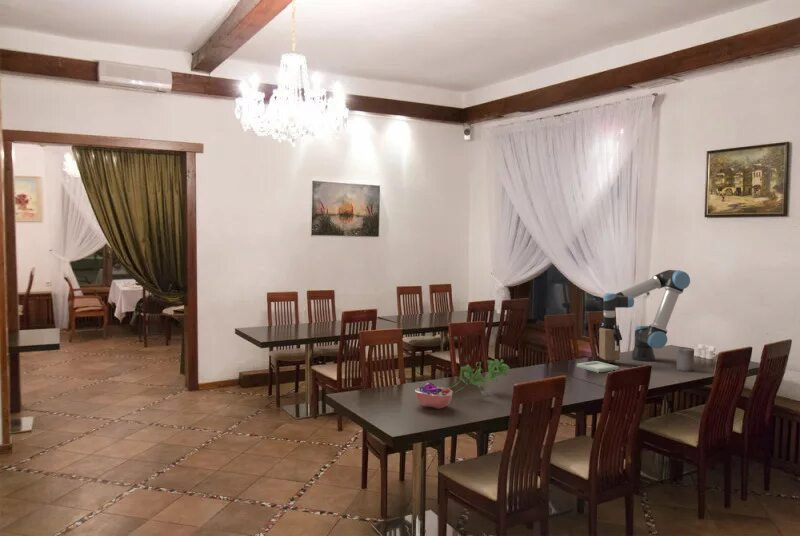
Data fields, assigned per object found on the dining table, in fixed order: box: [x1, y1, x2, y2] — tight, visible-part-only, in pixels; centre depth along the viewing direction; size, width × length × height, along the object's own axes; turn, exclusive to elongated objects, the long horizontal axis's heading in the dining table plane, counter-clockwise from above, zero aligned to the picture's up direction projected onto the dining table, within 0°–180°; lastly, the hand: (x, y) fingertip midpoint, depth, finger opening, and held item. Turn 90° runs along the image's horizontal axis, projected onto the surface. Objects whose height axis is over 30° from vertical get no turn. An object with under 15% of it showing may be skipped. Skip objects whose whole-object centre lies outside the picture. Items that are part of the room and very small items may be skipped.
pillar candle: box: [676, 346, 695, 372], centre depth 371 cm, size 10×10×15 cm
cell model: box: [414, 382, 454, 410], centre depth 283 cm, size 17×20×11 cm
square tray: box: [576, 360, 620, 374], centre depth 373 cm, size 18×18×2 cm
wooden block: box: [598, 327, 621, 361], centre depth 388 cm, size 10×10×20 cm
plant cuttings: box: [447, 358, 511, 397], centre depth 308 cm, size 35×17×22 cm
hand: (608, 348), depth 388 cm, fingers closed on wooden block, 12 cm apart
